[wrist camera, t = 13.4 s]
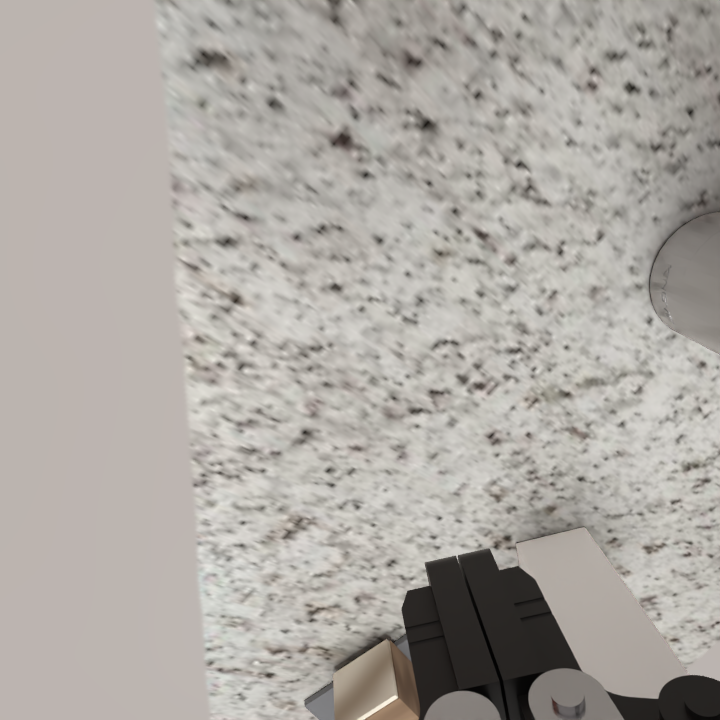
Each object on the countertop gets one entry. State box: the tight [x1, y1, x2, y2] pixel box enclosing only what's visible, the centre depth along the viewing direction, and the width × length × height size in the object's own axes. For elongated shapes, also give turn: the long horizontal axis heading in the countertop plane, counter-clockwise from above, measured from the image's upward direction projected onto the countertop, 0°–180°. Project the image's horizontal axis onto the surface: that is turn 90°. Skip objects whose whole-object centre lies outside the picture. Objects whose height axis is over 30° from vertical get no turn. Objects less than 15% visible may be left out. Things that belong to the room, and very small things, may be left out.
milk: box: [516, 527, 689, 699], centre depth 43 cm, size 6×6×22 cm
